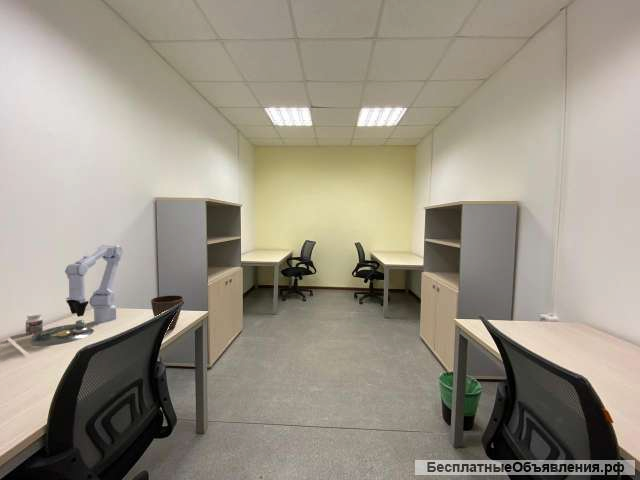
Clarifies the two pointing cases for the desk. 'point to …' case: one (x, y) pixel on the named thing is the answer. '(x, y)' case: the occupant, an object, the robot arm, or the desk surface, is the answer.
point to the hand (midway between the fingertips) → (77, 314)
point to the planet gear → (80, 327)
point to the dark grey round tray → (58, 335)
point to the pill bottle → (34, 323)
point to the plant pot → (166, 306)
